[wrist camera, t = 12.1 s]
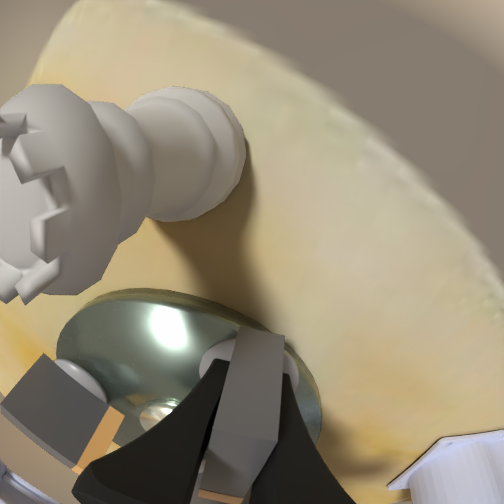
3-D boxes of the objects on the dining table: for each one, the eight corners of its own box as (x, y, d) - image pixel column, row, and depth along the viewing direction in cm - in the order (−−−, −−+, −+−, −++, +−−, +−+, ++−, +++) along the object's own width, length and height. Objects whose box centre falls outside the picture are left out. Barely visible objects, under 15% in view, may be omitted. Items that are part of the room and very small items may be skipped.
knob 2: (223, 451, 14) (207, 520, 10) (269, 475, 15) (261, 537, 11) (168, 465, 16) (149, 519, 12) (210, 488, 17) (198, 539, 13)
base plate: (368, 333, 12) (379, 372, 10) (278, 479, 18) (275, 505, 15) (50, 252, 12) (18, 273, 10) (89, 425, 18) (77, 446, 16)
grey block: (208, 312, 11) (164, 415, 6) (316, 336, 11) (323, 447, 6) (195, 405, 13) (168, 488, 9) (277, 423, 13) (269, 509, 8)
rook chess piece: (214, 234, 11) (98, 411, 4) (114, 182, 11) (-66, 269, 3) (272, 120, 9) (210, 77, 2) (157, 72, 9) (-41, 27, 2)
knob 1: (40, 370, 14) (1, 419, 10) (50, 339, 13) (-1, 396, 8) (112, 425, 15) (83, 481, 11) (134, 405, 14) (99, 473, 9)
